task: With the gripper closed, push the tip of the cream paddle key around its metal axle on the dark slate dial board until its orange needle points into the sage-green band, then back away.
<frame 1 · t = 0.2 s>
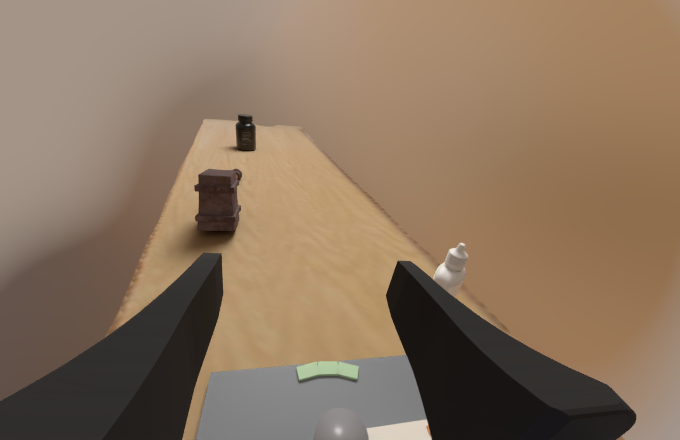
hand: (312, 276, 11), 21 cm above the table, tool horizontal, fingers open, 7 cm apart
eye dropper bottle: (434, 313, 40), on the table
supplement bottle: (246, 149, 103), on the table
hammer: (229, 201, 64), on the table
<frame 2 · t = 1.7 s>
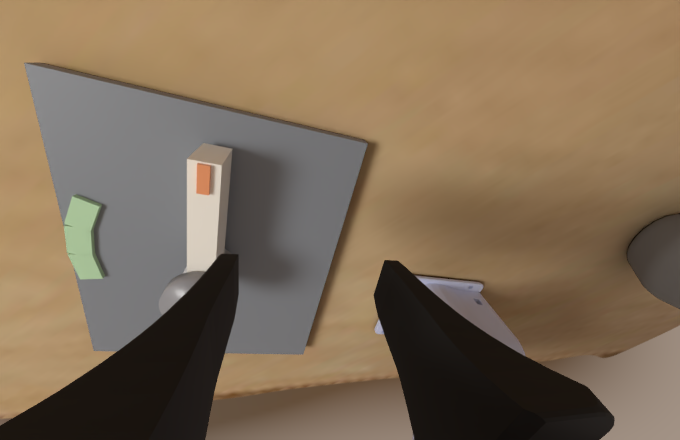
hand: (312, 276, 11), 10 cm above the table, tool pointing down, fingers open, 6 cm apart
peg key: (206, 240, 17), point 3 cm above the table, hinge at 0.0°
dial board: (216, 252, 21), on the table
cup: (650, 237, 29), on the table
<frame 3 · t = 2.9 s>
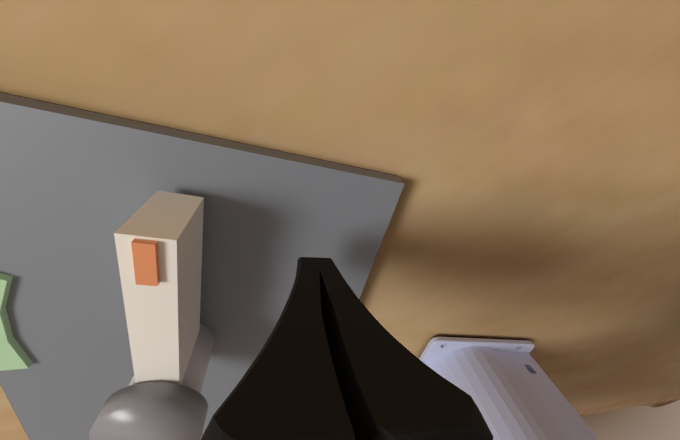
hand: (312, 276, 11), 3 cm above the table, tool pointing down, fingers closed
peg key: (167, 330, 11), point 3 cm above the table, hinge at 0.0°
dial board: (191, 322, 16), on the table
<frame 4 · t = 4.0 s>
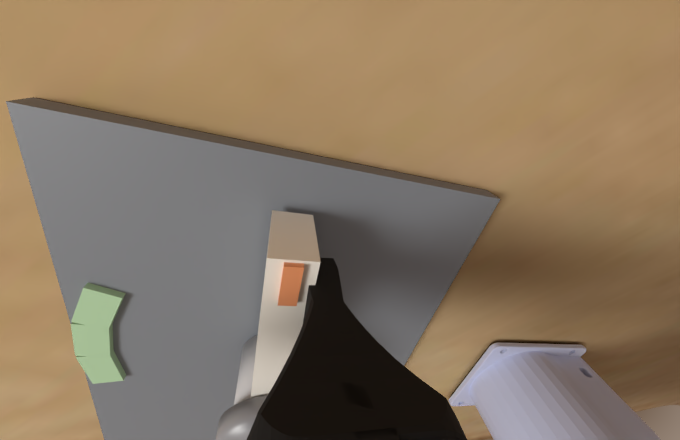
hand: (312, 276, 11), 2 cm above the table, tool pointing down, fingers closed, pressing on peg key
peg key: (275, 345, 12), point 3 cm above the table, hinge at 2.0°, touching gripper
dial board: (271, 333, 16), on the table
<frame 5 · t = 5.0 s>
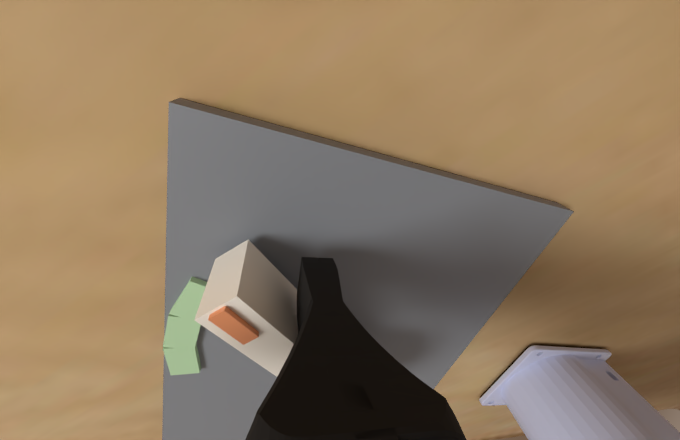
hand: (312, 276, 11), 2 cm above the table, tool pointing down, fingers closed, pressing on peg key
peg key: (309, 355, 12), point 3 cm above the table, hinge at 46.7°, touching gripper
dial board: (336, 330, 17), on the table
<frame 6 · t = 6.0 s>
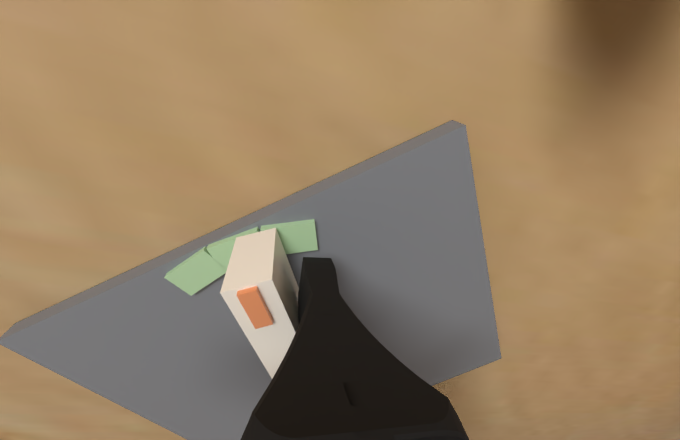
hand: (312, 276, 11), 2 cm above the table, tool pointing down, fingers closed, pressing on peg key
peg key: (295, 355, 12), point 3 cm above the table, hinge at 78.0°, touching gripper
dial board: (309, 337, 17), on the table
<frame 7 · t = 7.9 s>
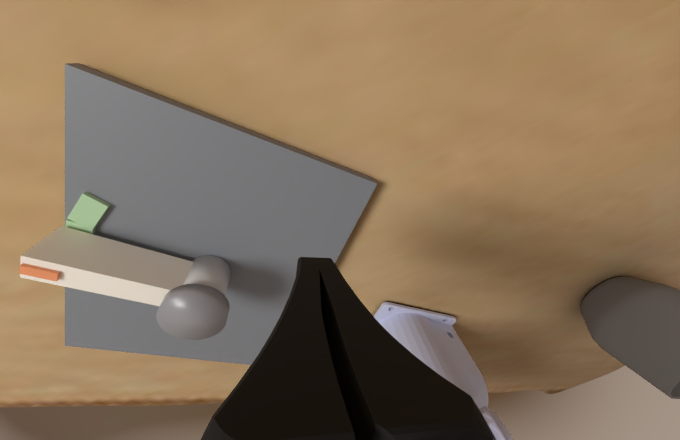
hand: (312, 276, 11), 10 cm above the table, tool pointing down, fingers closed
peg key: (145, 279, 18), point 3 cm above the table, hinge at 85.5°
dial board: (213, 262, 22), on the table
cup: (601, 292, 33), on the table
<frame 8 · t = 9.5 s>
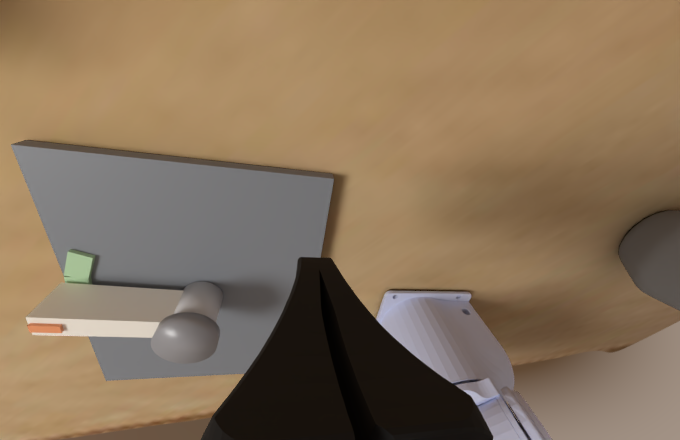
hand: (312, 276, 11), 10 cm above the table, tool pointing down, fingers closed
peg key: (140, 315, 19), point 3 cm above the table, hinge at 85.5°
dial board: (206, 285, 23), on the table
cup: (642, 234, 29), on the table
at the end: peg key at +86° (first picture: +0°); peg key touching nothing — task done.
